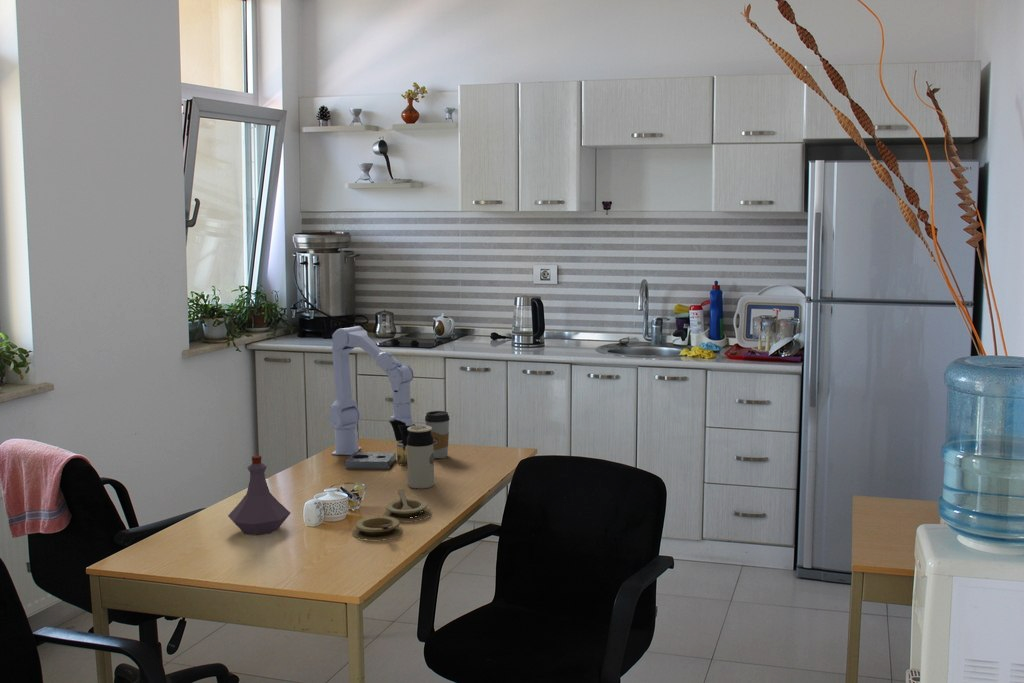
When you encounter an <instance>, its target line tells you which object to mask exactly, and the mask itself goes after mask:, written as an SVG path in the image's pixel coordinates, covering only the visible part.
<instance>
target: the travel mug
mask: <svg viewBox="0 0 1024 683" xmlns="http://www.w3.org/2000/svg"><path fill="white" fill-rule="evenodd" d="M407 430H408V432H409V435H408V437H407V464H406V465H407V486H408V487H410V488H411V489H416V488H417V490H423V488H425V489H430V488H431V487H433V486H434V485H435V467H434V466H435V462H434V460H435V459H434V451H433V437H432V435H431V430H432V427H430V426H426V424H423V425H416V426H411V427H409V428H407Z"/></svg>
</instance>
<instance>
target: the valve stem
mask: <svg viewBox="0 0 1024 683" xmlns="http://www.w3.org/2000/svg"><path fill="white" fill-rule="evenodd" d="M396 457H397V458H396V460H397V461H396V462H397V465H400V464H403V465H404V464H406V465H408V464H407V446H404V445H403V441H396ZM403 465H402V466H403Z"/></svg>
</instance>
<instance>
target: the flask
mask: <svg viewBox="0 0 1024 683" xmlns="http://www.w3.org/2000/svg"><path fill="white" fill-rule="evenodd" d="M251 462H252V463H251V464H249V465H248V466H247V467H246V468H247V470H248V472H249V474H250V475H249V482H248V486H247V492H246V494H245V495H244V496H243V497H242V499H241V500H240V502H238V504H237V505H236V506H235V507H234V508H233V510H232V511H230V513H229V514H228V515H227V517H228V518H229V519H230V520H231V521H232V523H234V524H235V526H236V527H237V528H239V529H240V531H242V533H244V535H247V536H256V537H257V536H264V535H269V534H272V533H274V532H276V531H278V529H279V528H280V527H281V526H282V525H283V524H284V522H285V521H286V520H287V519H288V517H289V516H290V515H291V512H290V510H288V508H286V507H285V506H284V505H283V504H282V503H280V502H279V500H278V499H276V497H274V495H273V494H272V493H271V492H270V489H269V486H268V482H267V480H266V476H265V472H266V470H267V466H266V464H264V463H263V462H262V456H261V455H253V456H251Z"/></svg>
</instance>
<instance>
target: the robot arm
mask: <svg viewBox="0 0 1024 683" xmlns="http://www.w3.org/2000/svg"><path fill="white" fill-rule="evenodd" d="M331 337H332V338H331V339H332V348H331V353H332V354H331V355H332V367H333V368H332V369H333V378H334V390H335V391H334V392H335V393H334V394H335V401H333V403H332V404H331V406H330V411H329V412H330V413H329V416H328V421H329V423H330V426H332V429H334V449H335V450H334V451H332V453H331V455H336V456H337V455H338V456H339V455H340V456H341V455H342V456H344V455H347V456H348V455H349V456H351V455H352V454H353V453H354V452H360V450H361V449H362V447H361V446H359V437H358V436H359V434H358V433H359V432H358V429H357V426H358V423H359V421H360V420H361V413H360V410H359V408H358V402H357V401H355V400H354V399H353V396H352V395H353V394H352V380H351V369H350V367H351V366H350V353H351V352H352V351H353V350H354V349H355V348H360V349H362V350H363V351H364V352H366V353H367V354H368V355H369V356H371V357H372V358H373V359H374V360H375V365H376V366H377V367H378V368H379V369H380V370H382V372H383V373H384V374H386V376H387V377H388V378H387V379H388V381H389V383H390V387H391V390H392V406H393V407H392V416H389V421H388V422H389V424H390V425H391V427H392V429H393V435H394V437H395V438H394V439H395V441H396V442H399V441H403V445H404V446H407V437H408V435H409V432H408V430H407V428H409V427H411V426H417V425H416V424H415V423H414V424H413V419H412V411H411V410H412V406H411V382H412V381H413V379H414V371H413V369H412V368H411V366H410V365H408V364H403V363H401V361H399V360H398V359H397V358H395V357H394V356H393V354H392V352H389V351H382V349H381V348H380V347H379V346H378V345H377V344H376V343H375V341H373V340H372V339H371V338H370V337H369V336H368V331H367V330H365V329H364V328H363V327H362V326H361V325H355V326H351V327H344V328H338V329H336V330H335V331H334V332H333V333H332V334H331Z"/></svg>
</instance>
